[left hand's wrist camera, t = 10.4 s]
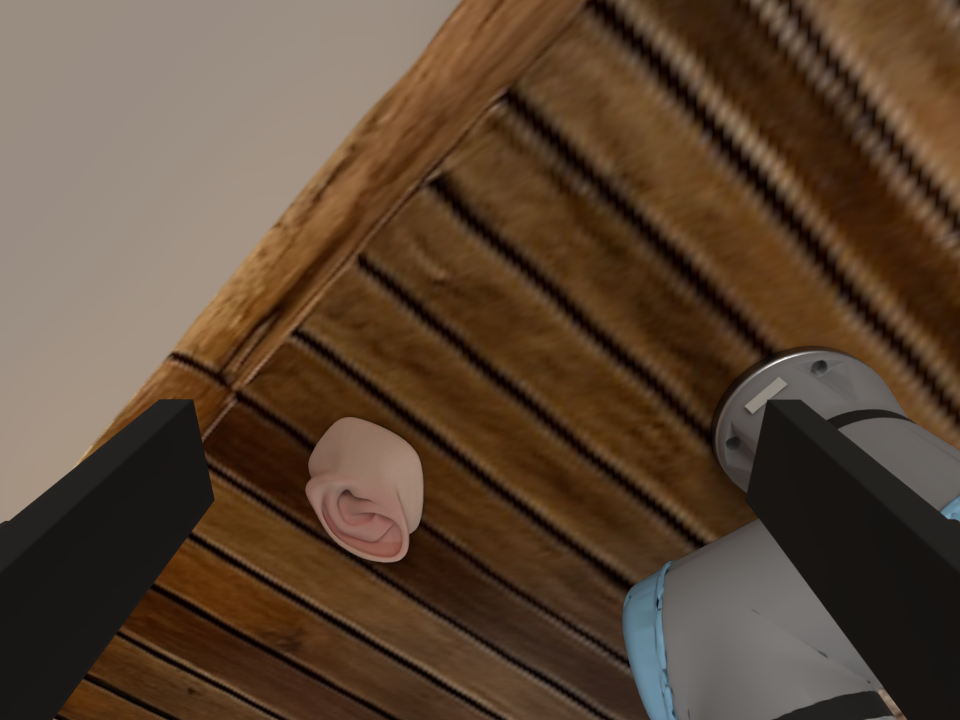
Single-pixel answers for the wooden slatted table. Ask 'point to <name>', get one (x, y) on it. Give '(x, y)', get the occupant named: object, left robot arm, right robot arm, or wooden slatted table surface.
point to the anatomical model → (366, 489)
